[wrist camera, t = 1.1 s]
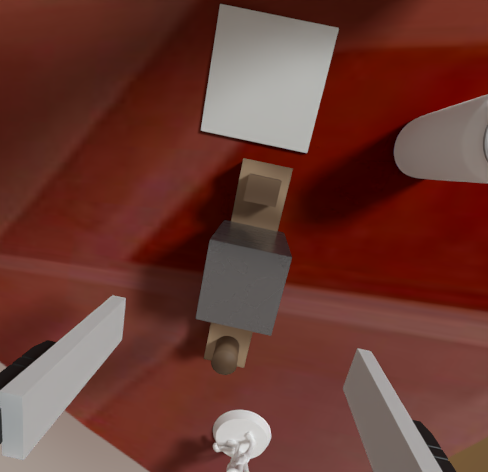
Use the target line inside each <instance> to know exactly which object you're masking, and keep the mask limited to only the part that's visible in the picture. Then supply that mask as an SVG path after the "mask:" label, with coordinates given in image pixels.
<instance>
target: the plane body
mask: <svg viewBox="0 0 488 472" xmlns="http://www.w3.org/2000/svg"><path fill="white" fill-rule="evenodd" d="M292 170H293V169H292V168H287V167H282V166H278V165H273V164H268V163H264V162H259V161H254V160H250V159H245V158H243V162H242V167H241V173H240V178H239V183H238V188H237V193H236V198H235V203H234V208H233V213H232V218H231V221H233V222H237V223H242V224H246V225H251V226H256V227H260V228H265V229H269V230H274V231H278V227H279V223H280V219H281V215H282V211H283V206H284V202H285V198H286V194H287V190H288V186H289V182H290V178H291V174H292ZM251 337H252V331H248V330H243V329H239V328H234V327H230V326H225V325H221V324H216V323H212V322H211V325H210V330H209V335H208V340H207V345H206V350H205V355H204V359H207V360H212V361H211V365H212V368H213V369H214V370H215V371H216V372H217V373H219V374H223V375H227V374H231V373H233V372H234V371H235V369H236V367H237V366H238V367H243V368H244V365H245V361H246V357H247V353H248V349H249V345H250V341H251Z"/></svg>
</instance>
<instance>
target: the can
mask: <svg viewBox="0 0 488 472" xmlns="http://www.w3.org/2000/svg"><path fill="white" fill-rule="evenodd" d="M394 158H395V162H396V164H397V166H398V168H399V169H400V170H401V171H402V172H403V173H404V174H406V175H408V176H411V177H414V178H420V179H432V180H445V181H460V182H475V183H488V95H485V96H482V97H478V98H475V99H472V100H469V101H466V102H463V103H460V104H457V105H454V106H451V107H448V108H445V109H442V110H439V111H436V112H433V113H430V114H427V115H424V116H421V117H418V118H416V119H414V120H412V121H411V122H409V123H408V124H407V125H406V126H405V127H404V128H403V129H402V130H401V132H400V133H399V135H398V137H397V139H396V142H395V145H394Z"/></svg>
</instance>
